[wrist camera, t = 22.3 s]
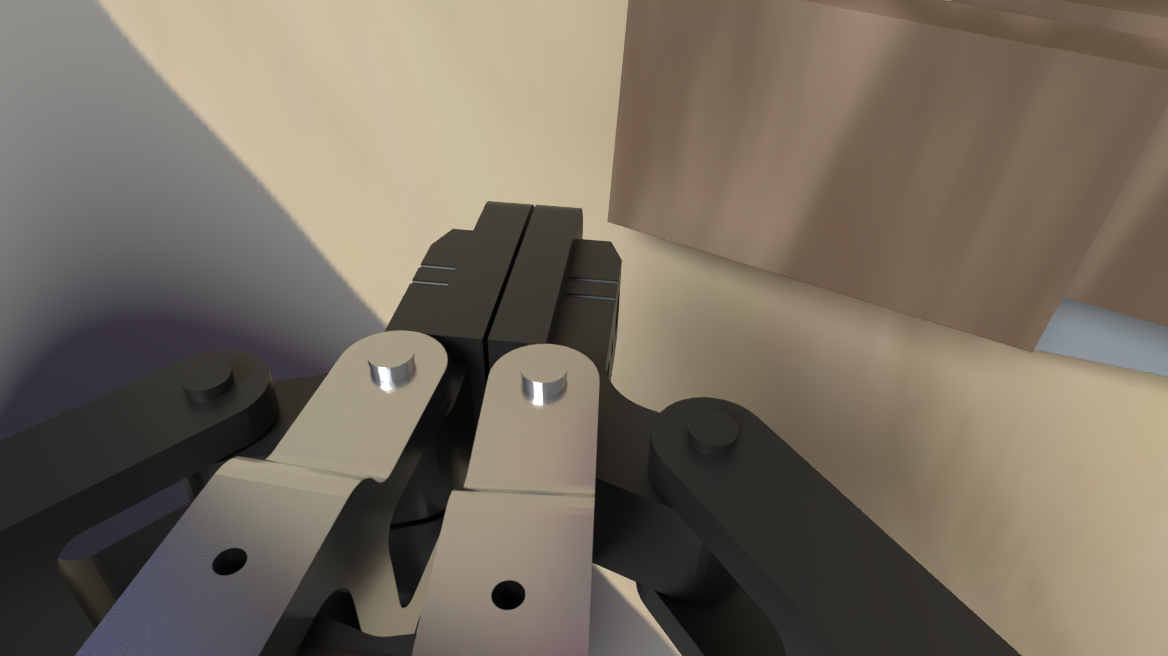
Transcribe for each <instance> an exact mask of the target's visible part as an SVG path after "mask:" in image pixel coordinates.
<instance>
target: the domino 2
mask: <svg viewBox="0 0 1168 656" xmlns="http://www.w3.org/2000/svg"><path fill="white" fill-rule="evenodd" d="M951 2H956V3H961V4H967V5H972V6H978V7H983V8H989V9H994V10H1000V11H1006V12H1011V13H1017V14H1022V15H1028V16H1033V17H1039V18H1044V19H1050V20H1056V21H1061V22H1067V23H1072V24H1078V25H1083V26H1089V27H1094V28H1100V29H1106V30H1111V31H1117V32H1122V33H1128V34H1133V35H1139V36H1144V37H1150V38H1156V39H1161V40H1167V41H1168V0H952V1H951ZM1063 297H1065V298H1069V299H1072V300H1076V301H1079V302H1083V303H1086V304H1090V305H1093V306H1097V307H1100V308H1104V309H1107V310H1111V311H1114V312H1117V313H1121V314H1124V315H1128V316H1131V317H1135V318H1138V319H1142V320H1145V321H1149V322H1152V323H1156V324H1159V325H1163V326H1166V327H1168V106H1167V107H1166V109H1165V111H1164V113H1163V115H1162V117H1161V118H1160V120H1159V122H1158V124H1157V126H1156V128H1155V129H1154V131H1153V133H1152V135H1151V137H1150V139H1149V140H1148V142H1147V144H1146V146H1145V148H1144V149H1143V151H1142V153H1141V155H1140V157H1139V159H1138V160H1137V162H1136V164H1135V166H1134V168H1133V170H1132V171H1131V173H1130V175H1129V177H1128V179H1127V181H1126V182H1125V184H1124V186H1123V188H1122V190H1121V192H1120V193H1119V195H1118V197H1117V199H1116V201H1115V202H1114V204H1113V206H1112V208H1111V210H1110V212H1109V213H1108V215H1107V217H1106V219H1105V221H1104V223H1103V224H1102V226H1101V228H1100V230H1099V232H1098V234H1097V235H1096V237H1095V239H1094V241H1093V243H1092V245H1091V246H1090V248H1089V250H1088V252H1087V254H1086V256H1085V257H1084V259H1083V261H1082V263H1081V265H1080V266H1079V268H1078V270H1077V272H1076V274H1075V276H1074V277H1073V279H1072V281H1071V283H1070V285H1069V287H1068V288H1067V290H1066V292H1065V294H1064V296H1063Z"/></svg>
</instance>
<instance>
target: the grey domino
mask: <svg viewBox="0 0 1168 656" xmlns="http://www.w3.org/2000/svg"><path fill="white" fill-rule="evenodd" d="M1034 350H1039V351H1044V352H1049V353H1054V354H1059V355H1064V356H1069V357H1074V358H1079V359H1084V360H1089V361H1094V362H1099V363H1103V364H1108V365H1113V366H1118V367H1123V368H1128V369H1133V370H1138V371H1143V372H1148V373H1153V374H1158V375H1163V376H1168V327H1166V326H1163V325H1159V324H1156V323H1152V322H1149V321H1145V320H1142V319H1138V318H1135V317H1131V316H1128V315H1124V314H1121V313H1117V312H1114V311H1111V310H1107V309H1104V308H1100V307H1097V306H1093V305H1090V304H1086V303H1083V302H1079V301H1076V300H1072V299H1069V298H1065V297H1063V298H1062V299H1061V301H1060V303H1059V305H1058V307H1057V309H1056V310H1055V312H1054V314H1053V316H1052V318H1051V320H1050V321H1049V323H1048V325H1047V327H1046V329H1045V330H1044V332H1043V334H1042V336H1041V338H1040V340H1039V341H1038V343H1037V345H1036V347H1035V349H1034Z"/></svg>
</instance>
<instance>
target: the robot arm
mask: <svg viewBox="0 0 1168 656" xmlns="http://www.w3.org/2000/svg"><path fill="white" fill-rule="evenodd" d="M582 235H583V213H582V209H581V208H571V207H558V206H545V205H536V206H535V207H534V205H530V204H518V203H505V202H492V201H488V202H487V203H486V205H485V207H484V209H483V211H482V213H481V215H480V217H479V220H478V222H477V224H476V226H475V228H474V230H473V231H471V230H459V229H452V230H451V231H450V232H448V233H447V234H445V235H444V236H443V237H441V238H440V239H439V240H437V241H436V242H434V243H433V244H432V245H431V246H430V248H429V250H428V252H427V254H426V255H425V257H424V259H423V261H422V263H421V268H418V270H417V272H416V274H415V276H414V278H413V282H412V284H410V285H409V287H408V289H407V291H406V293H405V295H404V296H403V298H402V300H401V302H400V304H399V306H398V308H397V309H396V311H395V313H394V315H393V317H392V319H391V321H390V322H389V324H388V326H387V328H386V330H385V332H383V333H378V334H375V335H371V336H368V337H366V338H364V339H362V340H360V341H358V342H356V343H355V344H353V345H352V346H351V347H349V348H348V349H347V350H346V351H345V352H344V353H343V354H342V355H341V357H340V358H339V359H338V361H337V362H336V364H335V365H334V367H333V368H332V369H331V371H330V372H329V373H327V374H322V375H317V376H309V377H301V378H294V379H286V380H278V381H272V378H271V374H270V371H269V368H268V366H267V364H266V363H265V362H264V361H263V360H262V359H261V358H260V357H258V356H256V355H254V354H252V353H249V352H245V351H239V350H218V351H211V352H206V353H202V354H199V355H195V356H193V357H190V358H187V359H185V360H182V361H180V362H178V363H176V364H173V365H171V366H169V367H167V368H164V369H162V370H160V371H157V372H155V373H153V374H151V375H148V376H146V377H144V378H141V379H139V380H137V381H135V382H132V383H130V384H128V385H125V386H123V387H121V388H119V389H116V390H114V391H112V392H109V393H108V394H105V395H103V396H100V397H98V398H96V399H93V400H91V401H89V402H87V403H85V404H82V405H80V406H77V407H75V408H73V409H71V410H68V411H66V412H64V413H61V414H59V415H57V416H55V417H52V418H50V419H48V420H46V421H43V422H41V423H39V424H37V425H34V426H32V427H30V428H27V429H25V430H23V431H20V432H18V433H16V434H14V435H12V436H9V437H7V438H4V439H2V440H0V656H588V640H589V618H590V617H589V616H590V595H591V594H590V593H591V571H592V563H595V564H597V565H599V566H601V567H604V568H606V569H608V570H611V571H613V572H615V573H617V574H620V575H622V576H624V577H626V578H629V579H631V580H633V581H636V585H637V591H638V593H639V596H640V598H641V600H642V602H643V603H644V605H645V606H646V608H647V609H648V610H649V612H650V613H651V614H652V616H653V617H654V618H655V620H656V621H657V622H658V624H659V625H660V626H661V628H662V629H663V630H664V632H665V633H666V634H667V636H668V637H669V638H670V640H671V641H672V643H673V644H674V645H675V647H676V648H677V649H678V651H679V652H680V653H681V655H682V656H1021V655H1020V654H1019V653H1018V652H1017V651H1016V650H1015V649H1014V648H1013V647H1011V646H1010V645H1009V644H1008V643H1007V642H1006V641H1005V640H1004V639H1003V638H1001V637H1000V636H999V635H998V634H997V633H996V632H995V631H994V630H993V629H991V628H990V627H989V626H988V625H987V624H986V623H985V622H984V621H983V620H982V619H980V618H979V617H978V616H977V615H976V614H975V613H974V612H973V611H972V610H970V609H969V608H968V607H967V606H966V605H965V604H964V603H963V602H962V601H960V600H959V599H958V598H957V597H956V596H955V595H954V594H953V593H952V592H951V591H949V590H948V589H947V588H946V587H945V586H944V585H943V584H942V583H941V582H939V581H938V580H937V579H936V578H935V577H934V576H933V575H932V574H931V573H929V572H928V571H927V570H926V569H925V568H924V567H923V566H922V565H921V564H920V563H918V562H917V561H916V560H915V559H914V558H913V557H912V556H911V555H910V554H908V553H907V552H906V551H905V550H904V549H903V548H902V547H901V546H900V545H898V544H897V543H896V542H895V541H894V540H893V539H892V538H891V537H890V536H889V535H887V534H886V533H885V532H884V531H883V530H882V529H881V528H880V527H879V526H877V525H876V524H875V523H874V522H873V521H872V520H871V519H870V518H869V517H867V516H866V515H865V514H864V513H863V512H862V511H861V510H860V509H859V508H858V507H856V506H855V505H854V504H853V503H852V502H851V501H850V500H849V499H848V498H846V497H845V496H844V495H843V494H842V493H841V492H840V491H839V490H838V489H836V488H835V487H834V486H833V485H832V484H831V483H830V482H829V481H828V480H827V479H825V478H824V477H823V476H822V475H821V474H820V473H819V472H818V471H817V470H815V469H814V468H813V467H812V466H811V465H810V464H809V463H808V462H807V461H805V460H804V459H803V458H802V457H801V456H800V455H799V454H798V453H797V452H796V451H794V450H793V449H792V448H791V447H790V446H789V445H788V444H787V443H786V442H784V441H783V440H782V439H781V438H780V437H779V436H778V435H777V434H776V433H774V432H773V431H772V430H771V429H770V428H769V427H768V426H767V425H766V424H765V423H763V422H762V421H761V420H760V419H759V418H758V417H757V416H755V415H754V414H753V413H752V412H750V411H749V410H747V409H745V408H743V407H742V406H739V405H737V404H735V403H732V402H729V401H726V400H722V399H716V398H706V397H700V398H690V399H684V400H681V401H678V402H675V403H673V404H672V405H670V406H668V407H666V408H665V409H664V410H663V411H661V413H658V412H655V411H653V410H650V409H647V408H644V407H642V406H640V405H637V404H635V403H634V402H632V401H630V400H628V399H627V398H626V397H624V396H623V395H622V394H620V393H619V392H618V391H617V390H616V389H615V387H614V386H613V385H612V383H611V376H612V369H613V361H614V355H615V347H616V340H617V329H618V312H619V296H620V280H621V264H622V260H621V258H620V257H619V255H618V253H617V251H616V250H615V248H614V246H613V244H612V242H608V241H596V240H583V239H582ZM465 480H466V481H465ZM178 481H181V483H182V485H183V488H184V490H185V492H186V495H187V497H188V499H189V501H190V502H189V503H188V504H186V505H184V506H182V507H180V508H178V509H177V510H175V511H173V512H171V513H169V514H168V515H166V516H164V517H162V518H160V519H158V520H156V521H155V522H153V523H151V524H149V525H147V526H145V527H144V528H142V529H140V530H138V531H136V532H134V533H133V534H131V535H129V536H127V537H125V538H123V539H122V540H120V541H118V542H116V543H114V544H112V545H111V546H109V547H107V548H105V549H103V550H101V551H100V552H98V553H96V554H94V555H92V556H90V557H87V558H85V559H81V560H74V561H67V560H62V559H59V558H58V557H59V554H60V553H61V551H62V549H63V548H64V546H65V545H66V544H67V543H68V542H69V541H70V540H71V539H73V538H74V537H75V536H77V535H78V534H80V533H82V532H83V531H85V530H87V529H89V528H91V527H93V526H95V525H97V524H98V523H100V522H102V521H104V520H106V519H108V518H110V517H112V516H114V515H116V514H118V513H119V512H121V511H123V510H125V509H127V508H129V507H130V506H133V505H135V504H137V503H139V502H140V501H142V500H144V499H146V498H148V497H150V496H152V495H154V494H155V493H157V492H159V491H161V490H163V489H165V488H167V487H169V486H171V485H173V484H175V483H176V482H178ZM464 484H465V485H464ZM421 611H422V613H421ZM420 614H421V618H420V622H419V627H418V630H417V633H414V631H415V627H416V624H417V621H418V619H419V616H420Z"/></svg>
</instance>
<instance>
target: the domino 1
mask: <svg viewBox="0 0 1168 656" xmlns="http://www.w3.org/2000/svg"><path fill="white" fill-rule="evenodd" d="M1167 106H1168V41H1167V40H1161V39H1156V38H1150V37H1144V36H1139V35H1133V34H1128V33H1122V32H1117V31H1111V30H1106V29H1100V28H1094V27H1089V26H1083V25H1078V24H1072V23H1067V22H1061V21H1056V20H1050V19H1044V18H1039V17H1033V16H1028V15H1022V14H1017V13H1011V12H1006V11H1000V10H994V9H989V8H983V7H978V6H972V5H967V4H961V3H956V2H950V1H944V0H629V2H628V12H627V23H626V33H625V44H624V55H623V65H622V76H621V86H620V97H619V107H618V118H617V128H616V139H615V149H614V160H613V170H612V181H611V191H610V202H609V212H608V222H610V223H613V224H616V225H620V226H623V227H626V228H629V229H633V230H636V231H639V232H642V233H646V234H649V235H652V236H655V237H659V238H662V239H665V240H668V241H672V242H675V243H678V244H681V245H685V246H688V247H691V248H694V249H698V250H701V251H704V252H707V253H711V254H714V255H717V256H720V257H724V258H727V259H730V260H733V261H737V262H740V263H743V264H746V265H750V266H753V267H756V268H759V269H763V270H766V271H769V272H772V273H776V274H779V275H782V276H785V277H789V278H792V279H795V280H798V281H802V282H805V283H808V284H811V285H815V286H818V287H821V288H824V289H828V290H831V291H834V292H837V293H841V294H844V295H847V296H850V297H854V298H857V299H860V300H863V301H867V302H870V303H873V304H876V305H879V306H883V307H886V308H889V309H892V310H896V311H899V312H902V313H905V314H909V315H912V316H915V317H918V318H922V319H925V320H928V321H931V322H935V323H938V324H941V325H944V326H948V327H951V328H954V329H957V330H961V331H964V332H967V333H970V334H974V335H977V336H980V337H983V338H987V339H990V340H993V341H996V342H1000V343H1003V344H1006V345H1009V346H1013V347H1016V348H1019V349H1022V350H1026V351H1029V352H1033V351H1034V349H1035V347H1036V345H1037V343H1038V341H1039V340H1040V338H1041V336H1042V334H1043V332H1044V330H1045V329H1046V327H1047V325H1048V323H1049V321H1050V320H1051V318H1052V316H1053V314H1054V312H1055V310H1056V309H1057V307H1058V305H1059V303H1060V301H1061V299H1062V298H1063V296H1064V294H1065V292H1066V290H1067V288H1068V287H1069V285H1070V283H1071V281H1072V279H1073V277H1074V276H1075V274H1076V272H1077V270H1078V268H1079V266H1080V265H1081V263H1082V261H1083V259H1084V257H1085V256H1086V254H1087V252H1088V250H1089V248H1090V246H1091V245H1092V243H1093V241H1094V239H1095V237H1096V235H1097V234H1098V232H1099V230H1100V228H1101V226H1102V224H1103V223H1104V221H1105V219H1106V217H1107V215H1108V213H1109V212H1110V210H1111V208H1112V206H1113V204H1114V202H1115V201H1116V199H1117V197H1118V195H1119V193H1120V192H1121V190H1122V188H1123V186H1124V184H1125V182H1126V181H1127V179H1128V177H1129V175H1130V173H1131V171H1132V170H1133V168H1134V166H1135V164H1136V162H1137V160H1138V159H1139V157H1140V155H1141V153H1142V151H1143V149H1144V148H1145V146H1146V144H1147V142H1148V140H1149V139H1150V137H1151V135H1152V133H1153V131H1154V129H1155V128H1156V126H1157V124H1158V122H1159V120H1160V118H1161V117H1162V115H1163V113H1164V111H1165V109H1166V107H1167Z"/></svg>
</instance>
